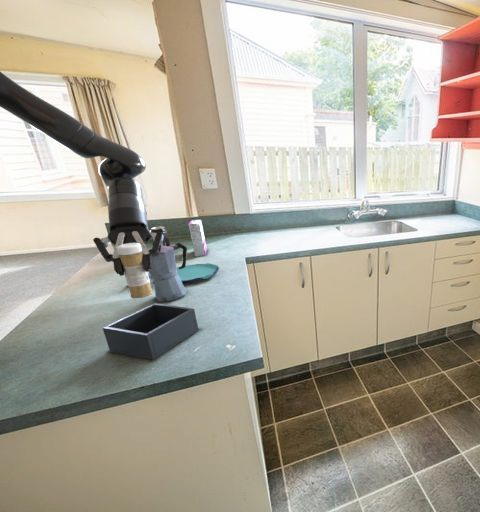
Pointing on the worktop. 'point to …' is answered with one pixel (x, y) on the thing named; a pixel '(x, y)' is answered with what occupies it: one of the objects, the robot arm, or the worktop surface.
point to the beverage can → (165, 234)
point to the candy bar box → (197, 237)
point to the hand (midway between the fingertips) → (134, 271)
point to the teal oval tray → (195, 272)
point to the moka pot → (167, 273)
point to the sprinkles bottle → (134, 270)
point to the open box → (151, 330)
